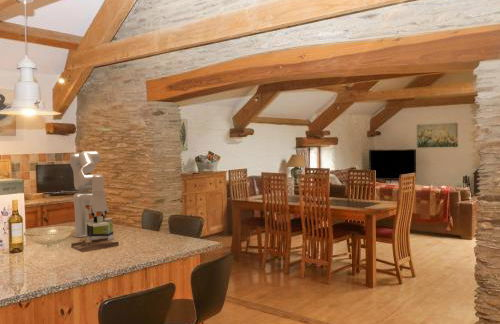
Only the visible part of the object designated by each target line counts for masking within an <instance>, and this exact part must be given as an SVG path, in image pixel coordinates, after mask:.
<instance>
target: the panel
mask: <svg viewBox="0 0 500 324" xmlns="http://www.w3.org/2000/svg"><path fill="white" fill-rule="evenodd" d="M96 217H97V223H95V222H94V221H91V222H85V224H86V225H87V224H88V225H89V226H93V227H98V226H105V225H109V223H108V222H103V216H101V215H96Z"/></svg>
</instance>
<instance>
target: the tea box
mask: <svg viewBox="0 0 500 324" xmlns="http://www.w3.org/2000/svg"><path fill="white" fill-rule="evenodd" d="M113 220H114V219H113V217H104V222H108V223H109V225H105V226H98V227H93V226H89V225H88V224H87V238H86V239H87V240H96V239H102V238H108V240H110V241H112V240H113V239H114V223H113V222H114V221H113ZM91 221H94V220H93V218H89V220H87V222H91ZM87 240H86V241H87Z"/></svg>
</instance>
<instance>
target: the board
mask: <svg viewBox="0 0 500 324" xmlns="http://www.w3.org/2000/svg"><path fill="white" fill-rule="evenodd" d="M79 240H80V241H77V242H72V243H71V247H70V248H72V249H74V250H77V251H79V252H81V253H84V252H90V251H96V250H101V249H102V248H103V249H108V247H109V248H114V246H115V247H119V245H120V243H119V241H112V240H110V241H109V240H108V238H102V239H96V240H87V238H86V237H82V238H79Z"/></svg>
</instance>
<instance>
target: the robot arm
mask: <svg viewBox="0 0 500 324" xmlns="http://www.w3.org/2000/svg"><path fill="white" fill-rule="evenodd" d="M100 161H101V154H100V153H99V151H98V150H84V151H80V152H76V153H72V154H70V156H69V164H70V166H71V169H72V172H73V173H72V174H73V185H74V189H75V190H76V191H78V192H76V193H74V194H73V196H72V200H73V201H72V202H73V205H74V206H73V207H74V223H75V224H74V227H75V228H74V230H75V233H73V234H72V236H73V237H74V238H86V237H87V225H86V224H85V222H87V220H89V219H90V215H91V216H92V217H93V220H94V222H95V223H97V217H96V216H97V213H98V212H100V216H103V222H104V218H105V217H106V214H107V213H108V212H109V211H110V209H109V207H108V204H107V197H106V194H107V191H105V176H104V175H102V174H99V173H95V174H93V173H92V174H89V173H91V172H93V171H94V170H95V168H96V164H99V163H100ZM79 191H80V192H79ZM87 206H89V209H88V208H87Z"/></svg>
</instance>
